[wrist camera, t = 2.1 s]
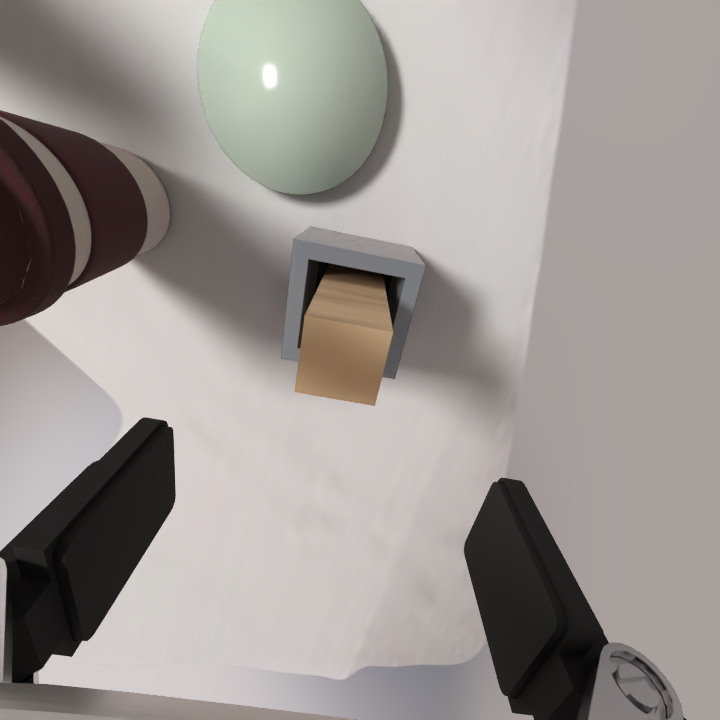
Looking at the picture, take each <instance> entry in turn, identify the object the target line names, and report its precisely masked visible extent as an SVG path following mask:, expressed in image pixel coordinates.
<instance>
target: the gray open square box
mask: <svg viewBox="0 0 720 720" xmlns="http://www.w3.org/2000/svg"><path fill="white" fill-rule="evenodd" d="M319 261H321V262H326V263H331V264H336V265H341V266H346V267H351V268H356V269H361V270H366V271H371V272H376V273H381V274H386V275H392V280H391V285H390V289H389V293H388V298H387V300H388V306H389V311H390V317H391V323H392V328H393V335H392V339H391V343H390V347H389V351H388V355H387V359H386V363H385V367H384V371H383V375H382V377H386V378H392V379H395V377H396V373H397V369H398V365H399V362H400V358H401V354H402V351H403V347H404V343H405V339H406V336H407V332H408V328H409V325H410V321H411V317H412V314H413V310H414V306H415V302H416V299H417V295H418V291H419V288H420V284H421V280H422V276H423V273H424V269H425V264H424V262H423V261H422V260H421V258H420V257H419V256H418V254H417V253H416V252H415V250H414V249H413V248H412V247H408V246H404V245H399V244H394V243H389V242H384V241H379V240H374V239H369V238H365V237H360V236H355V235H350V234H345V233H340V232H335V231H330V230H325V229H321V228H316V227H311V226H310V227H309V228H308V229H306V230H305V231H304V232H302V233H301V234H299V235H298V236H297V237H295V238H294V240H293V250H292V259H291V269H290V278H289V288H288V297H287V306H286V316H285V325H284V335H283V344H282V353H281V359H286V360H291V361H297V362H299V355H300V348H301V340H302V332H303V325H304V317H305V314H306V312H307V310H308V308H309V305H310V303H311V301H312V299H313V297H314V293H315V286H316V279H317V272H318V265H319Z"/></svg>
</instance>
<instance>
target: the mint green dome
mask: <svg viewBox="0 0 720 720" xmlns="http://www.w3.org/2000/svg"><path fill="white" fill-rule="evenodd" d="M197 77H198V87H199V93H200V99H201V103H202V106H203V110H204V114H205V116H206V119H207V121H208V124H209V127H210V129H211V131H212V133H213V135H214V137H215V139H216V140H217V142H218V143H219V145H220V147H221V148H222V150H223V151H224V152H225V154H226V155H227V156H228V157H229V159H230V160H231V161H232V162H233V163H234V164H235V165H236V166H237V167H238V168H239V169H240V170H241V171H242V172H243V173H245V174H246V175H247V176H248V177H250V178H251V179H253V180H254V181H256V182H258V183H259V184H261V185H263V186H265V187H268V188H270V189H272V190H275V191H279V192H282V193H288V194H312V193H318V192H322V191H325V190H328V189H331V188H333V187H335V186H337V185H339V184H341V183H342V182H344V181H345V180H347V179H348V178H349V177H350V176H351V175H353V174H354V173H355V172H356V171H357V170H358V169H359V168H360V166H361V165H362V164H363V163H364V162H365V160H366V159H367V157H368V156H369V154H370V153H371V151H372V149H373V147H374V145H375V143H376V141H377V139H378V136H379V133H380V131H381V128H382V124H383V120H384V116H385V111H386V104H387V92H388V78H387V66H386V61H385V56H384V50H383V47H382V44H381V41H380V37H379V34H378V32H377V30H376V27H375V25H374V23H373V20H372V19H371V17H370V15H369V13H368V12H367V10H366V8H365V7H364V5H363V4H362V2H361V1H360V0H215V1H214V3H213V5H212V6H211V8H210V10H209V13H208V15H207V18H206V20H205V22H204V26H203V29H202V33H201V36H200V42H199V48H198V58H197Z"/></svg>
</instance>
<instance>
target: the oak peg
mask: <svg viewBox="0 0 720 720" xmlns="http://www.w3.org/2000/svg"><path fill="white" fill-rule="evenodd" d="M392 335H393V328H392V323H391V317H390V311H389V306H388V300H387V295H386V289H385V284H384V278H383V274H381V273H376V272H371V271H366V270H361V269H356V268H351V267H346V266H341V265H336V264H331V263H330V264H329V266H328V268H327V270H326V272H325V274H324V276H323V278H322V280H321V283H320V285H319V287H318V289H317V291H316V293H315V295H314V297H313V299H312V301H311V303H310V305H309V308H308V310H307V312H306V314H305V317H304V325H303V332H302V340H301V348H300V355H299V363H298V370H297V378H296V386H295V392H298V393H304V394H309V395H315V396H321V397H327V398H333V399H338V400H344V401H350V402H356V403H362V404H367V405H373V406H375V403H376V399H377V395H378V391H379V387H380V383H381V379H382V375H383V371H384V367H385V363H386V359H387V355H388V351H389V347H390V343H391V339H392Z"/></svg>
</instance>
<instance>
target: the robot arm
mask: <svg viewBox="0 0 720 720" xmlns="http://www.w3.org/2000/svg"><path fill="white" fill-rule="evenodd" d="M175 496H176V495H175V466H174V438H173V429H172V428H171V427H168V424H167V422H166V421H163V420H157V419H151V418H142V419H141V420H139V421H138V422H137V423H136V424H135V425H134V426H133V427H132V428H131V429H130V430H129V431H128V432H127V433H126V434H125V435H124V436H123V437H122V438H121V439H120V440H119V441H118V442H117V443H116V444H115V445H114V446H113V447H112V448H111V449H110V450H109V451H108V452H107V453H106V454H105V455H104V456H103V457H102V458H101V459H100V460H99V461H96V462H94V463H92V464H91V465H89V466H88V467H87V468H86V469H85V470H84V471H83V472H82V473H81V474H80V475H79V476H78V477H77V478H75V479H74V480H73V481H72V482H71V483H70V484H69V485H68V486H67V487H66V488H65V489H64V490H63V491H62V492H61V493H60V494H59V495H58V496H57V497H56V498H55V499H54V500H53V501H52V502H51V503H50V504H49V505H48V506H47V507H46V508H45V509H44V510H43V511H41V512H40V513H39V515H37V516H36V517H35V518H34V519H33V520H32V521H31V522H30V523H29V524H28V525H27V526H26V527H25V528H24V529H23V530H22V531H21V532H20V533H19V534H18V535H17V536H16V537H15V538H14V539H13V540H12V541H11V542H9V543H8V544H7V545H6V546H5V547H4V548H3V549H2V550H1V551H0V720H356V719H348V718H340V717H332V716H323V715H315V714H308V713H298V712H291V711H283V710H274V709H266V708H258V707H250V706H242V705H234V704H224V703H216V702H208V701H199V700H190V699H182V698H174V697H165V696H157V695H148V694H140V693H130V692H122V691H111V690H101V689H91V688H79V687H70V686H69V687H68V686H59V685H49V684H39V679H38V678H39V677H38V671H39V670H40V669H42V668H43V666H44V665H45V664H46V662H47V661H48V659H49V658H50V656H51V655H52V654H55V655H63V656H70V657H72V656H73V654H74V653H75V651H76V649H77V648H78V646H79V645H80V643H81V642H82V641H87V640H89V639H90V638H91V637H92V636H93V635H94V633H95V632H96V630H97V629H98V627H99V625H100V624H101V622H102V621H103V619H104V617H105V616H106V614H107V613H108V611H109V609H110V608H111V606H112V605H113V603H114V601H115V600H116V598H117V597H118V595H119V593H120V592H121V590H122V589H123V587H124V585H125V584H126V582H127V581H128V579H129V577H130V576H131V574H132V572H133V571H134V569H135V568H136V566H137V564H138V563H139V561H140V560H141V558H142V556H143V555H144V553H145V552H146V550H147V548H148V547H149V545H150V544H151V542H152V540H153V539H154V537H155V536H156V534H157V532H158V531H159V529H160V528H161V526H162V524H163V523H164V521H165V520H166V518H167V516H168V515H169V513H170V512H171V510H172V508H173V505H174V502H175ZM464 554H465V558H466V562H467V566H468V570H469V574H470V577H471V581H472V585H473V589H474V592H475V596H476V600H477V604H478V607H479V611H480V615H481V619H482V622H483V626H484V630H485V634H486V637H487V641H488V645H489V648H490V653H491V656H492V660H493V664H494V667H495V671H496V675H497V679H498V683H499V686H500V689H501V691H502V693H503V694H504V695H505V696H508V699H509V703H510V707H511V710H512V713H517V714H525V715H533V717H534V720H686V719H685V718H684V717H683V712H682V706H681V703H680V701H679V699H678V696H677V694H676V692H675V690H674V689H673V687H672V686H671V684H670V683H669V681H668V680H667V678H666V677H665V676H664V675H663V673H662V672H661V671H660V670H659V669H658V668H657V667H656V666H655V664H653V663H652V662H651V661H650V660H649V659H648V658H646V657H645V656H644V655H643V654H641V653H640V652H638V651H637V650H635V649H633V648H632V647H630V646H627V645H624V644H622V643H609V642H608V641H607V639H606V637H605V635H604V633H603V630H602V628H601V626H600V624H599V622H598V620H597V619H596V617H595V615H594V613H593V611H592V609H591V607H590V605H589V604H588V602H587V600H586V598H585V596H584V595H583V593H582V591H581V589H580V587H579V585H578V583H577V581H576V579H575V578H574V576H573V574H572V572H571V570H570V568H569V566H568V564H567V563H566V561H565V559H564V557H563V555H562V553H561V551H560V550H559V548H558V546H557V544H556V542H555V540H554V538H553V537H552V535H551V533H550V531H549V529H548V527H547V525H546V523H545V522H544V520H543V518H542V516H541V514H540V512H539V510H538V509H537V507H536V505H535V503H534V501H533V499H532V498H531V496H530V494H529V492H528V490H527V488H526V486H525V485H524V483H523V482H522V481H519V480H512V479H507V478H500V479H499V480H498V482H493V484H492V485H491V487H490V490H489V492H488V494H487V496H486V498H485V500H484V503H483V505H482V507H481V509H480V511H479V513H478V516H477V518H476V520H475V522H474V524H473V526H472V529H471V531H470V533H469V535H468V537H467V539H466V542H465V546H464Z"/></svg>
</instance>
